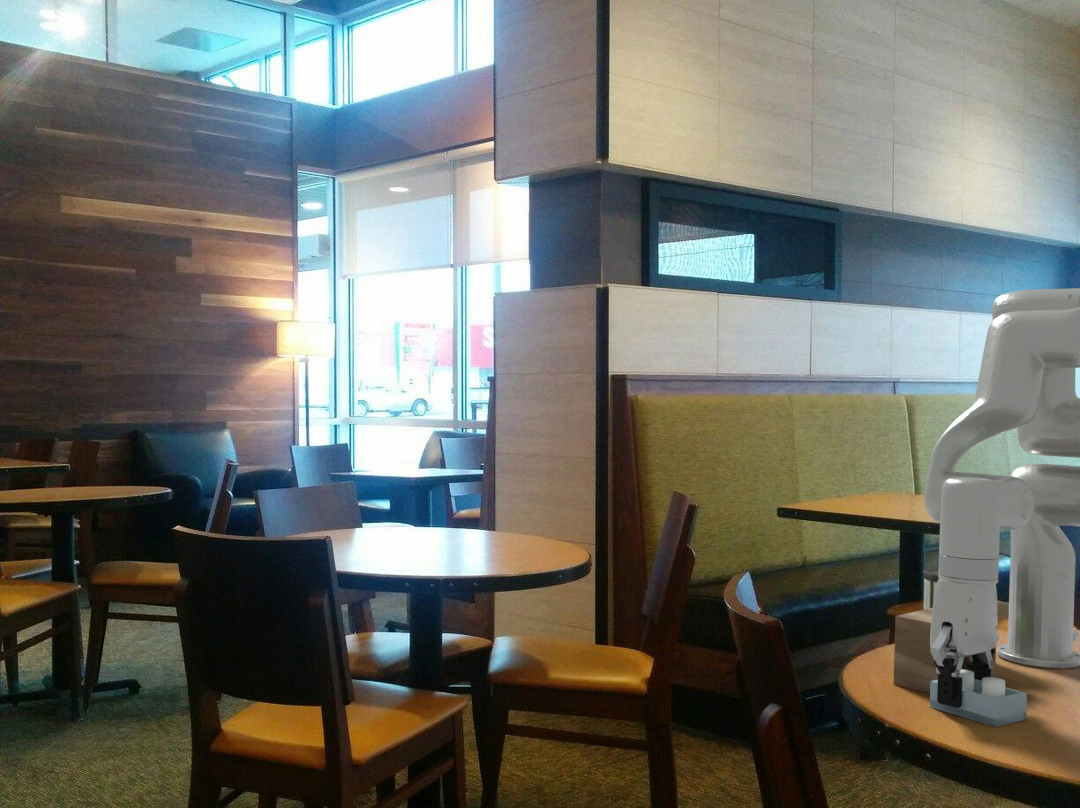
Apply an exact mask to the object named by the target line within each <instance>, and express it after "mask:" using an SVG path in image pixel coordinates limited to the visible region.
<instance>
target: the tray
mask: <svg viewBox="0 0 1080 808" xmlns="http://www.w3.org/2000/svg"><path fill="white" fill-rule="evenodd" d="M959 677H962V705H961V707H959V708H955V707H952V706H948V705H944V704H940V703H938V701H937V688H938V680H934V681H931V682H930V693H929V708H933V709H935V710H939V711H942V712H946V713H948V714H953V715H955V716H959V717H962V718H965V719H968V720H972V721H975V722H978V723H981V724H984V723H985V725H987V726H990V727H994V728H999V727H1002V726H1007V725H1010V724H1014V723H1018V722H1022V721H1025V720H1027V705H1028V704H1027V702H1028V701H1027V700H1028V699H1027V698H1028V697H1027V696H1028V693H1027V692H1025V691H1021V690H1017V689H1014V688H1013V689H1012V688H1010V687H1006V680H1005V679H1002V678H999V677H995V678H994V677H984V678H982V681H981V680H977V679H974V672H972V671H969V670H964V669H961V671H960V675H959Z"/></svg>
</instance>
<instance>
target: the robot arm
mask: <svg viewBox="0 0 1080 808" xmlns="http://www.w3.org/2000/svg"><path fill="white" fill-rule="evenodd" d="M991 308H992V309H991V316H992V317H991V318H992V321H991V322H990V324H989V325H988V327H987V332H986V337H985V343H984V347H983V353H982V358H981V362H980V369H979V375H978V378H977V379H978V381H977V385H976V390H975V395H974V400H973V403H972V405H971V406H970V407H969V408H968V409H967V410H965V411H964V412H962V413H961V414H960V415H959V416H958V417H956V418H955V420H953V421H952V422H951V424H950V425H949V426H948V427H947V428H946V429H945V430H944V432H943V433H942V434H941V435H940V437H939V438H938V440H937V441H936V442H935V445H934V447H933V449H932V451H931V455H930V461H929V465H928V469H927V474H926V480H925V486H924V496H923V500H924V507H925V508H924V509H925V511H926V513H927V514H928V516H929V517H930V518H931V519H932V520H934V521H935V522H938V523H939V545H938V546H939V547H938V548H939V549H938V550H939V551H938V568H939V574H938V577H939V578H940V579H938V582H937V586H936V590H935V595H934V602H933V610H932V619H931V632H930V648H931V650H930V651H931V654H932V656H933V658H934V663H935V665H936V673H937V674H938V688H937V701H938V703H940V704H944V705H948V706H952V707H955V708H959V707H961V705H962V677H959V675H960V671H961V668H962V664H963V660H964V657H968V656H969V659H970V663H971V664H972V665H967V670H969V671H972V672H974V679H977V680H981V681H982V678H984V677H991V668H992V667H993V659H992V658H993V656H994V654H995V647H996V654H997V655H998V656H999V657H1000V658H1002V659H1004V660H1006V661H1009V662H1011V663H1012V662H1013V663H1016V664H1021V665H1025V666H1032V667H1039V668H1047V669H1048V668H1049V669H1071V668H1077V667H1078V668H1079V667H1080V653H1079V652H1078V651H1077V652H1076V651H1074V650H1073V646H1074V645H1073V644H1074V642H1076V641H1078V640H1079V638H1080V634H1079V632H1078V631H1076V630H1075V629H1074V618H1075V617H1074V614H1075V612H1074V611H1075V587H1076V586H1075V584H1076V583H1075V580H1076V553H1075V549H1074V547H1073V545H1072V542H1071V541H1070V540H1069V538H1068V537H1067V535H1066V534H1065V533H1064V532H1063V530H1062V528H1061V527H1060V526H1064V527H1065V526H1069V527H1070V526H1071V527H1080V466H1077V465H1066V464H1049V463H1029V464H1024V465H1021V466H1018V467H1015V468H1014V469H1013V470H1012V471H1011V472H1010V474H1009V475H1001V474H1000V475H999V474H987V473H975V472H964V471H963V472H961V471H956V468H957V465H958V464H959V461H960V459H961V458H962V457H963V456H964V455H965V454H966V452H968V451H969V450H970V449H972V448H973V447H974V446H976V445H978V444H979V443H981V442H983V441H986V440H988V439H990V438H992V437H995V436H999V435H1001V434H1003V433H1006V432H1009V431H1011V430H1015V429H1016V432H1017V441H1018V444H1019V447H1020V448H1021V449H1022V450H1023V451H1024V452H1026V453H1028V454H1032V455H1036V456H1045V457H1046V456H1047V457H1059V458H1061V457H1062V458H1074V459H1075V458H1077V459H1079V458H1080V397H1079V396H1077V393H1076V373H1077V372H1076V371H1077V370H1076V369H1079V368H1080V287H1078V288H1077V287H1076V288H1073V287H1072V288H1042V289H1022V290H1016V291H1015V290H1014V291H1010V292H1004V293H1003V294H1000V295H999V296H997V297H996V298H995V299H994V301H993V303H992V306H991ZM1001 530H1006V531H1010V560H1009V561H1010V562H1009V567H1010V568H1009V588H1008V589H1009V591H1008V592H1009V593H1008V594H1009V595H1008V596H1009V597H1008V622H1007V623H1008V624H1007V625H1008V629H1007V643H1003V644H1000V645H998V642H999V640H1000V635H999V634H998V627H999V626H998V625H999V624H998V623H999V622H998V619H999V617H998V616H999V614H998V610H999V609H998V591H997V584H998V583H999V564H1000V561H999V560H1000V537H1001V536H1000V534H1001V533H1000V532H1001ZM997 645H998V646H997ZM949 649H955V650H957V651H956V653H955V652H951V651H949ZM948 657H949V658H954V659H955V662H954V665H953V664H952V663H951V661H950V659H949V658H948ZM988 668H989V669H988Z"/></svg>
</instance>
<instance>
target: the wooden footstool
mask: <svg viewBox="0 0 1080 808" xmlns="http://www.w3.org/2000/svg"><path fill="white" fill-rule="evenodd" d="M932 610H933V608H930V609H925V610H924V609H921V610H917V611H912V612H908V613H903V614H898V615H895V620H894V622H895V623H894V625H895V626H894V655H893V656H894V657H893V659H894V661H893V685H895V686H899V687H903V688H908V689H911V690H915V691H919V692H923V693H928V694H930V682H931V681H934V680H938V674H937V673H936V665H935V663H934V658H933V656H932V654H931V651H930V650H931V648H930V632H931V619H932ZM949 651H951V652H955V653H956V651H957V650H955V649H949ZM996 654H997V646H996V647H995V654H994V656H993V658H992V659H993V667H992V668H991V677H994V678H996V664H997V663H996V662H997V660H996V659H997V658H996V657H997V655H996ZM948 658H949V657H948ZM949 659H950V661H951V663H952V664H953V665H954V662H955V659H954V658H949ZM967 665H972V664H971V663H970V659H969V656H968V657H964V660H963V664H962V668H961V669H964V670H967ZM988 669H989V668H988Z"/></svg>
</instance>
